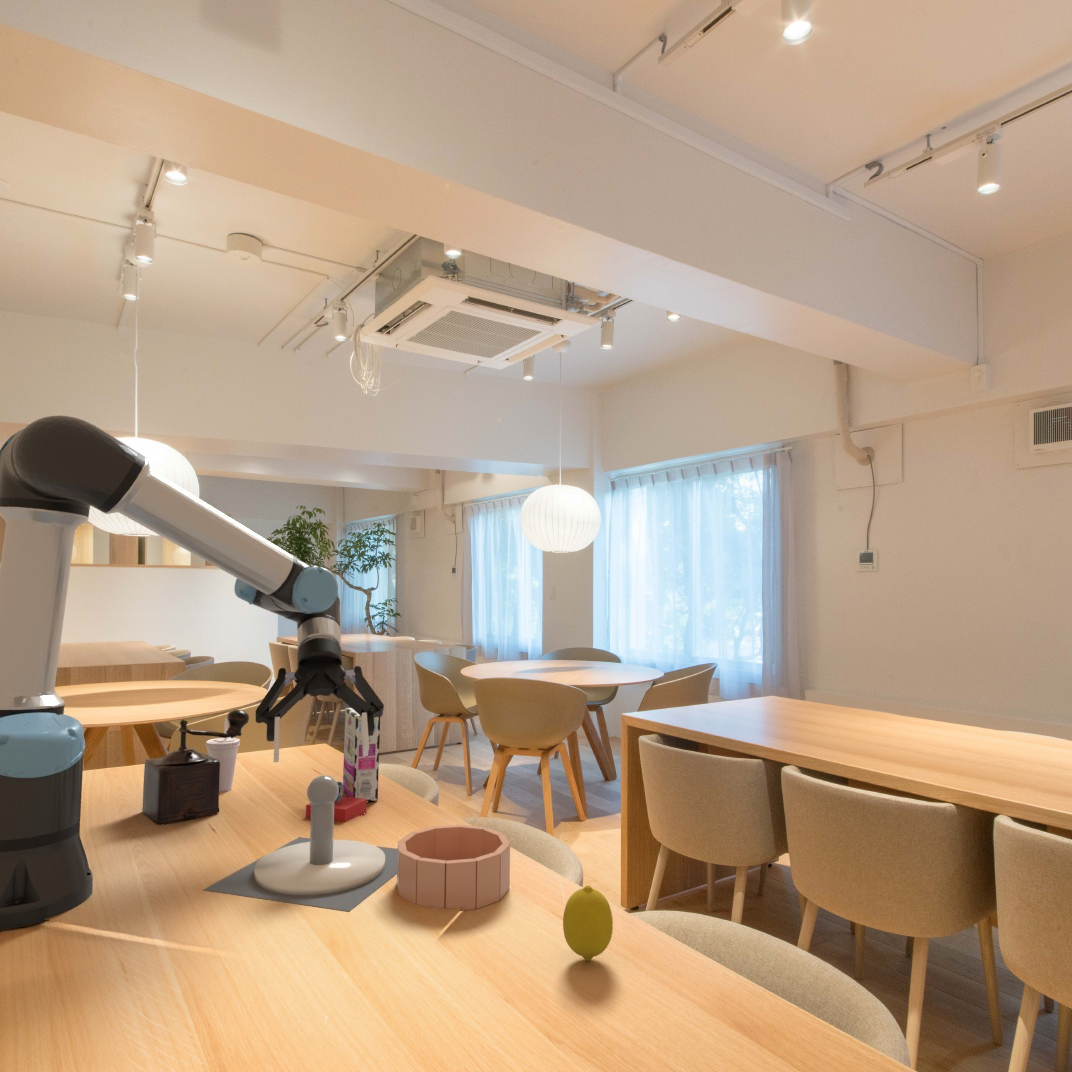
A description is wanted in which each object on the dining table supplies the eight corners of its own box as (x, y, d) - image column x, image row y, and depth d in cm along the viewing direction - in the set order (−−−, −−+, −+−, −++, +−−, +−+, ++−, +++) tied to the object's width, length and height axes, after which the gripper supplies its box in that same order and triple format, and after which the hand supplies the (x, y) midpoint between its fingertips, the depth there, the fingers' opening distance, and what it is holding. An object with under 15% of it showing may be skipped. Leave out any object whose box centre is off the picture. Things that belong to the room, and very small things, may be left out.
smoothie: (226, 794, 147) (228, 722, 148) (196, 792, 149) (199, 720, 149) (245, 786, 154) (247, 716, 154) (216, 784, 155) (219, 715, 156)
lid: (343, 902, 97) (345, 798, 98) (225, 885, 102) (228, 786, 103) (406, 855, 114) (407, 766, 115) (302, 842, 119) (305, 757, 120)
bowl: (485, 917, 94) (486, 868, 95) (377, 902, 98) (378, 855, 99) (521, 873, 109) (522, 831, 109) (426, 862, 113) (426, 821, 113)
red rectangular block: (305, 821, 133) (306, 784, 133) (328, 810, 139) (329, 775, 139) (344, 826, 130) (345, 788, 130) (366, 814, 136) (367, 779, 137)
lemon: (554, 965, 83) (554, 890, 83) (575, 944, 88) (575, 873, 88) (601, 978, 80) (601, 900, 81) (620, 955, 85) (620, 882, 85)
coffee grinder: (158, 827, 128) (162, 719, 129) (140, 812, 136) (144, 710, 137) (250, 809, 138) (253, 709, 139) (228, 796, 146) (231, 702, 148)
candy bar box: (379, 801, 144) (381, 714, 145) (353, 804, 142) (355, 716, 143) (366, 787, 154) (368, 705, 155) (341, 789, 152) (343, 707, 153)
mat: (349, 915, 95) (349, 911, 95) (202, 893, 101) (202, 889, 101) (424, 855, 116) (424, 851, 116) (299, 840, 122) (299, 837, 122)
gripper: (388, 661, 140) (398, 762, 125) (244, 665, 132) (237, 773, 117) (392, 634, 136) (404, 735, 120) (244, 636, 128) (236, 745, 112)
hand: (322, 754), depth 119 cm, fingers open, 13 cm apart
